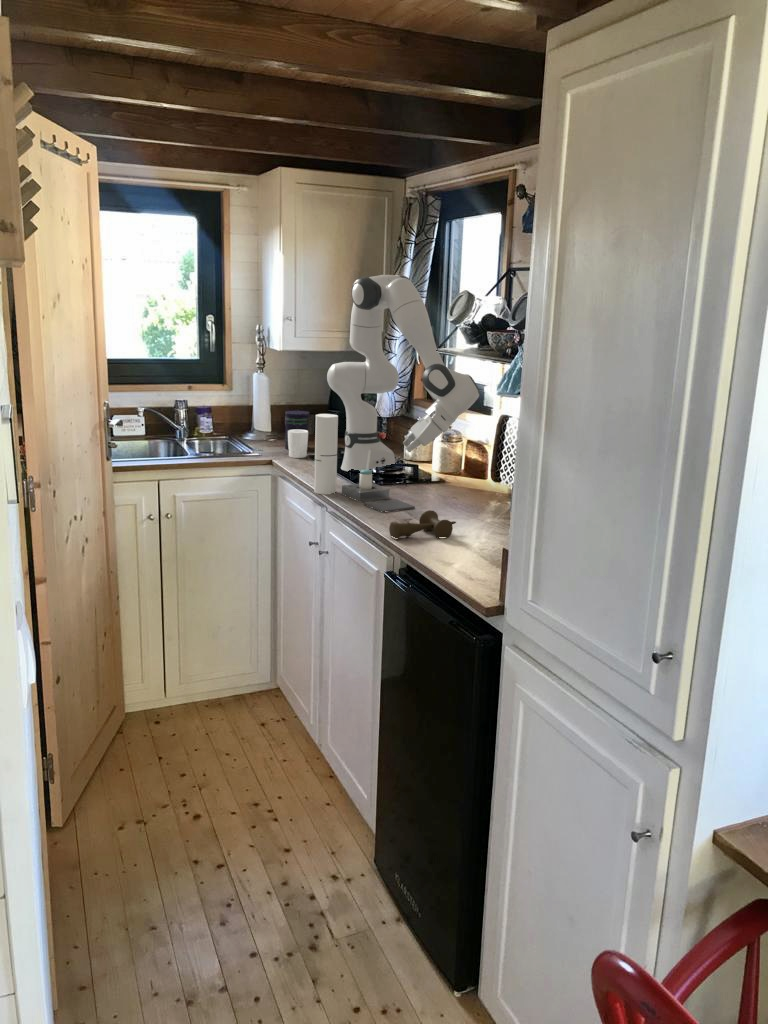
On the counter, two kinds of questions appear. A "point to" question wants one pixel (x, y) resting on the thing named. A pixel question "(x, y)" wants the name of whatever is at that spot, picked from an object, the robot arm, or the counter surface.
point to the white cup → (297, 443)
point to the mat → (390, 505)
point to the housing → (365, 492)
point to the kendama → (422, 526)
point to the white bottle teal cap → (365, 479)
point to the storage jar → (296, 423)
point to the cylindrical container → (326, 453)
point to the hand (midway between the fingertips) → (405, 447)
